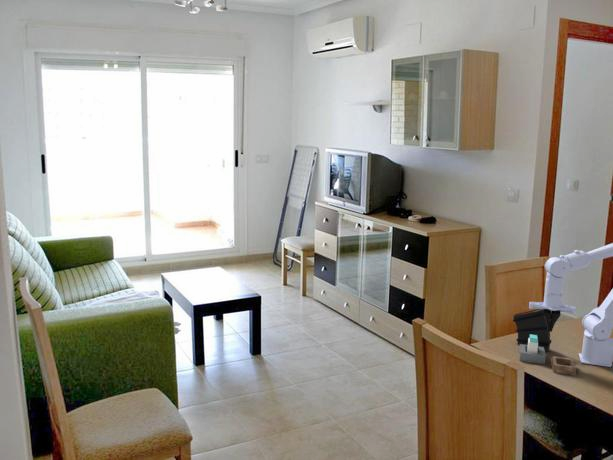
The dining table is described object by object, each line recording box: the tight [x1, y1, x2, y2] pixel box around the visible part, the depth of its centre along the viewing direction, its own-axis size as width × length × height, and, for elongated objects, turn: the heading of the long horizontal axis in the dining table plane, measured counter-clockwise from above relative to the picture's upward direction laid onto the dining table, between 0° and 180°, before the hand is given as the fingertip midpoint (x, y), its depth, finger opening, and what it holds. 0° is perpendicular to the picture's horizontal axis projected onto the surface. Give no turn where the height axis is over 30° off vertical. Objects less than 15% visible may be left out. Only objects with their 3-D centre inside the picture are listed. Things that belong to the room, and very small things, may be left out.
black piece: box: [512, 309, 552, 352], centre depth 209 cm, size 4×13×15 cm, turn 54°
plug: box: [527, 334, 538, 353], centre depth 199 cm, size 3×4×8 cm
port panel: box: [518, 344, 546, 365], centre depth 200 cm, size 8×8×3 cm
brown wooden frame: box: [550, 355, 576, 376], centre depth 192 cm, size 7×8×2 cm
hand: (549, 330), depth 198 cm, fingers closed
